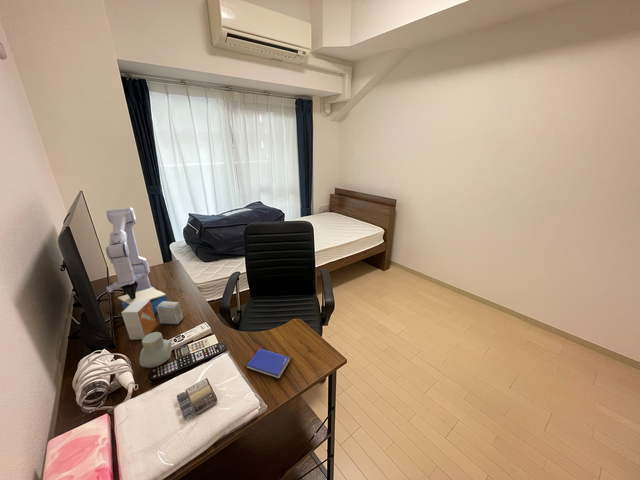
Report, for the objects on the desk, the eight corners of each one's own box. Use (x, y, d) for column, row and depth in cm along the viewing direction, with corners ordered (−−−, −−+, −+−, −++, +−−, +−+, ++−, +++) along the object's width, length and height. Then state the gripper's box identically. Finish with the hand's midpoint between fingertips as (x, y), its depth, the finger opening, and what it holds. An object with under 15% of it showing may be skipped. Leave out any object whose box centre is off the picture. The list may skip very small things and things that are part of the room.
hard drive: (289, 356, 89) (259, 347, 93) (278, 375, 82) (246, 364, 86) (290, 360, 90) (260, 351, 94) (278, 379, 83) (247, 368, 87)
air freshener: (168, 367, 87) (162, 345, 83) (140, 375, 84) (132, 352, 81) (173, 345, 96) (167, 324, 93) (148, 351, 94) (141, 330, 90)
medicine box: (183, 318, 111) (179, 301, 108) (177, 324, 107) (173, 308, 104) (167, 317, 112) (162, 300, 109) (160, 323, 108) (155, 307, 105)
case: (138, 322, 109) (134, 311, 107) (124, 313, 114) (121, 303, 112) (168, 305, 120) (166, 295, 118) (155, 298, 126) (152, 288, 123)
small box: (146, 339, 99) (137, 312, 95) (129, 339, 99) (120, 312, 95) (157, 325, 107) (150, 299, 102) (142, 326, 107) (134, 300, 102)
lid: (131, 306, 106) (131, 304, 105) (117, 298, 111) (117, 297, 111) (166, 295, 118) (166, 294, 118) (152, 288, 123) (152, 287, 123)
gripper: (108, 280, 98) (118, 309, 103) (147, 266, 110) (154, 292, 115) (100, 276, 102) (110, 304, 106) (138, 262, 113) (146, 288, 118)
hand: (132, 298), depth 111 cm, fingers closed
